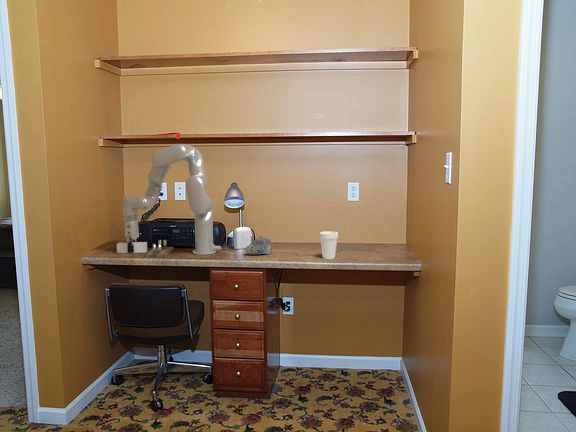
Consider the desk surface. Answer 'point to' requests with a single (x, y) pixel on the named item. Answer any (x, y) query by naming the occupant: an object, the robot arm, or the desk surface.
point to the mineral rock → (259, 246)
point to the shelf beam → (138, 247)
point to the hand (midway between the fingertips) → (132, 250)
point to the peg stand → (159, 250)
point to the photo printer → (242, 237)
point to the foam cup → (328, 244)
